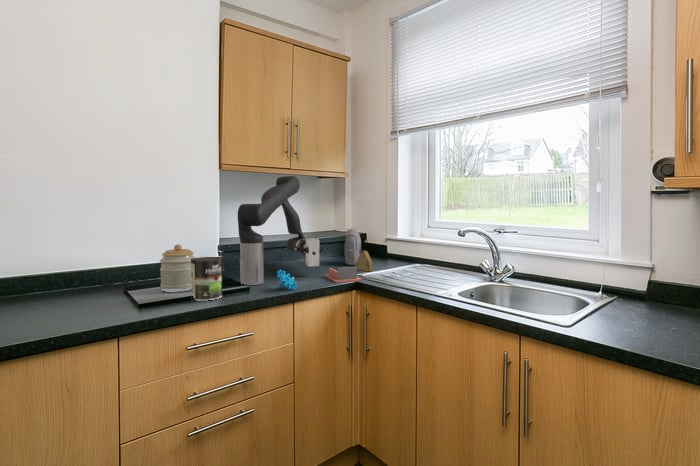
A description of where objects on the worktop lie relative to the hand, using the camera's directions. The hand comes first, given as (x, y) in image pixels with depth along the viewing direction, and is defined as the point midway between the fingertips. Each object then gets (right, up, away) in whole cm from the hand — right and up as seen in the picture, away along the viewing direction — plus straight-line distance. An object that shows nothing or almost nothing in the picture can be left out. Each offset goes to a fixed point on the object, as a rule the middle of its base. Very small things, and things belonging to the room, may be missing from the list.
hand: (314, 250), depth 171 cm
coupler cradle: (+13, -12, -2) cm, 18 cm away
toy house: (+23, -11, +19) cm, 32 cm away
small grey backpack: (+18, -9, +37) cm, 42 cm away
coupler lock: (-1, -7, +3) cm, 8 cm away
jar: (-50, -14, -23) cm, 57 cm away
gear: (-8, -14, -22) cm, 28 cm away
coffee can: (-35, -15, -36) cm, 52 cm away
